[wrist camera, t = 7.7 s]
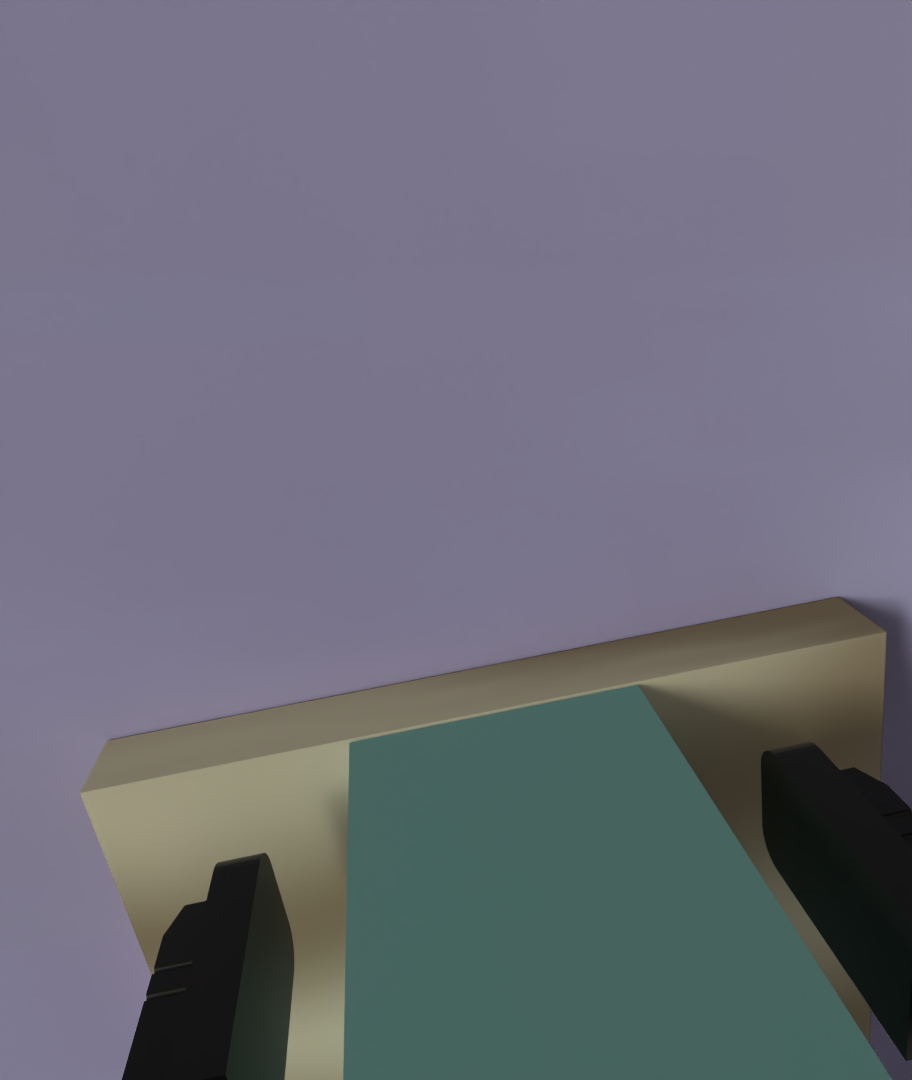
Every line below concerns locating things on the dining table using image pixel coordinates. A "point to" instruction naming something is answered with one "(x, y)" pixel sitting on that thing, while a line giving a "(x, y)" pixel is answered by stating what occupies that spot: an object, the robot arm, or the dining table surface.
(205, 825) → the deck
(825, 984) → the teal pillar
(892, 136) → the dining table surface
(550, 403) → the dining table surface
